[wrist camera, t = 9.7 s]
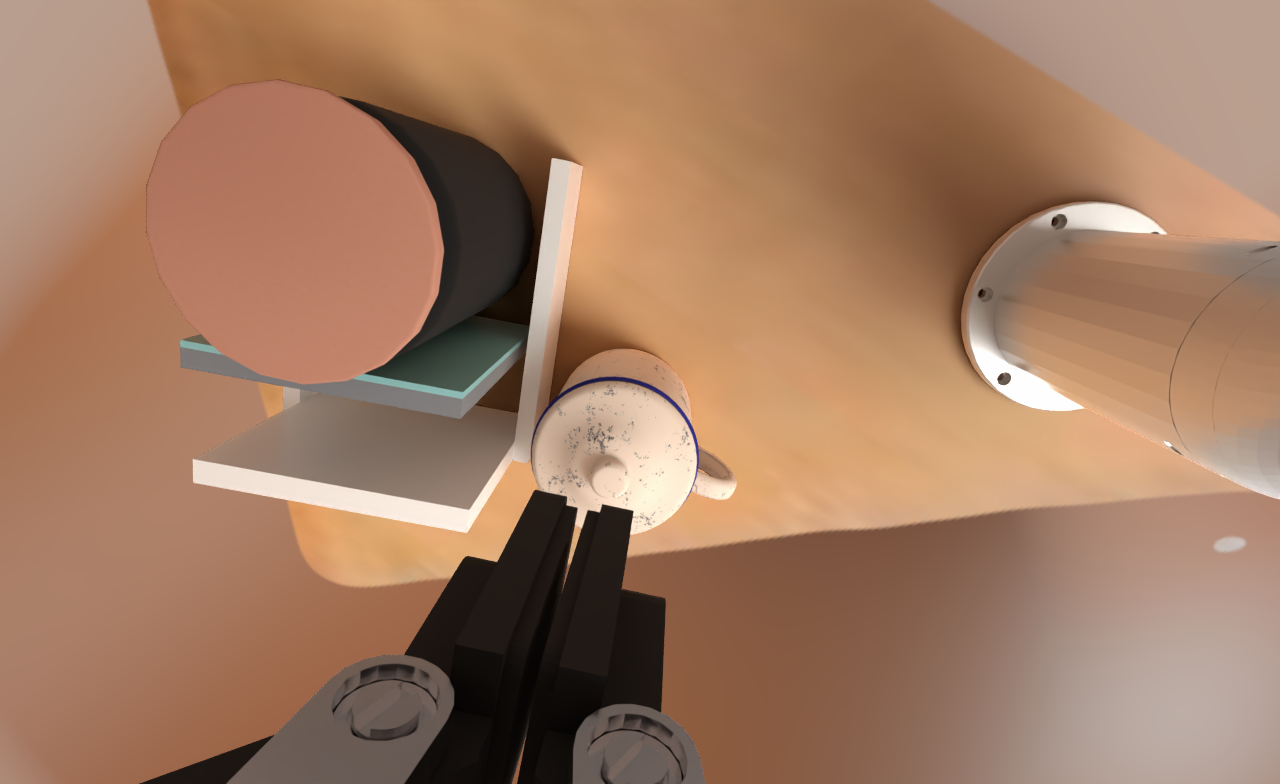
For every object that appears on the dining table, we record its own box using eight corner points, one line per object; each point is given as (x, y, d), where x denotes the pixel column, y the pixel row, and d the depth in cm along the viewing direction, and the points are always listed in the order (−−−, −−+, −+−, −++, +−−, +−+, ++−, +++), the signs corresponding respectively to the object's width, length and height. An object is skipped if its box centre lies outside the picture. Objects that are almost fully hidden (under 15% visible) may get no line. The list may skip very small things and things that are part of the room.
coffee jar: (333, 197, 40) (80, 193, 23) (470, 96, 38) (305, 8, 21) (437, 341, 43) (276, 436, 25) (572, 252, 41) (497, 289, 23)
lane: (583, 166, 39) (536, 147, 26) (544, 435, 44) (487, 536, 31) (336, 120, 39) (160, 77, 26) (325, 394, 44) (172, 478, 31)
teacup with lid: (537, 442, 44) (491, 523, 33) (587, 320, 42) (556, 364, 31) (698, 510, 45) (707, 611, 34) (757, 395, 43) (787, 463, 31)
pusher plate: (535, 327, 42) (463, 392, 27) (533, 345, 42) (460, 419, 28) (350, 292, 42) (180, 340, 27) (349, 311, 42) (181, 367, 28)
